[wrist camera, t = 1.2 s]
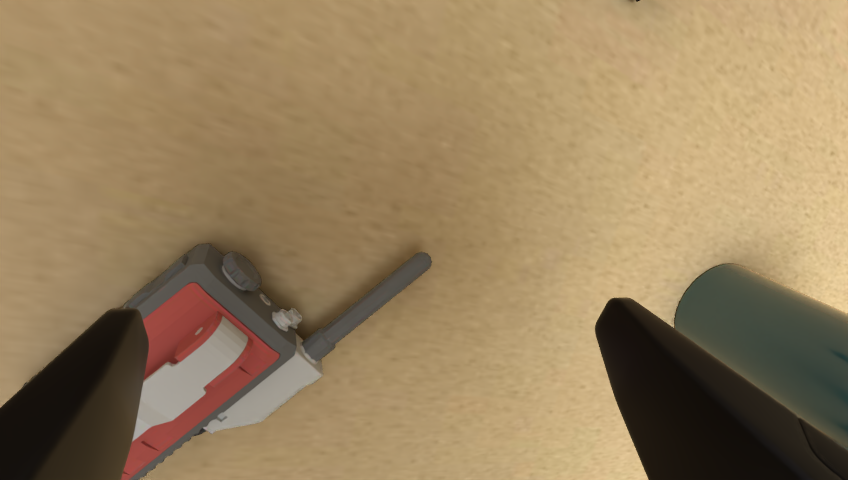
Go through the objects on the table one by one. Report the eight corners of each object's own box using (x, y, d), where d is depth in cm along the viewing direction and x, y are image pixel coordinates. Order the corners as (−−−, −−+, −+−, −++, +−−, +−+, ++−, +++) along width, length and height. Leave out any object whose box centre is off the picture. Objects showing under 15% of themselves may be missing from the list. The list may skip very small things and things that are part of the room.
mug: (661, 348, 34) (851, 491, 23) (695, 259, 32) (922, 370, 21) (757, 349, 38) (965, 476, 26) (794, 268, 35) (1036, 368, 24)
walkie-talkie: (147, 491, 26) (433, 260, 27) (125, 568, 22) (461, 296, 23) (-7, 402, 23) (329, 132, 23) (-66, 476, 19) (342, 148, 19)
